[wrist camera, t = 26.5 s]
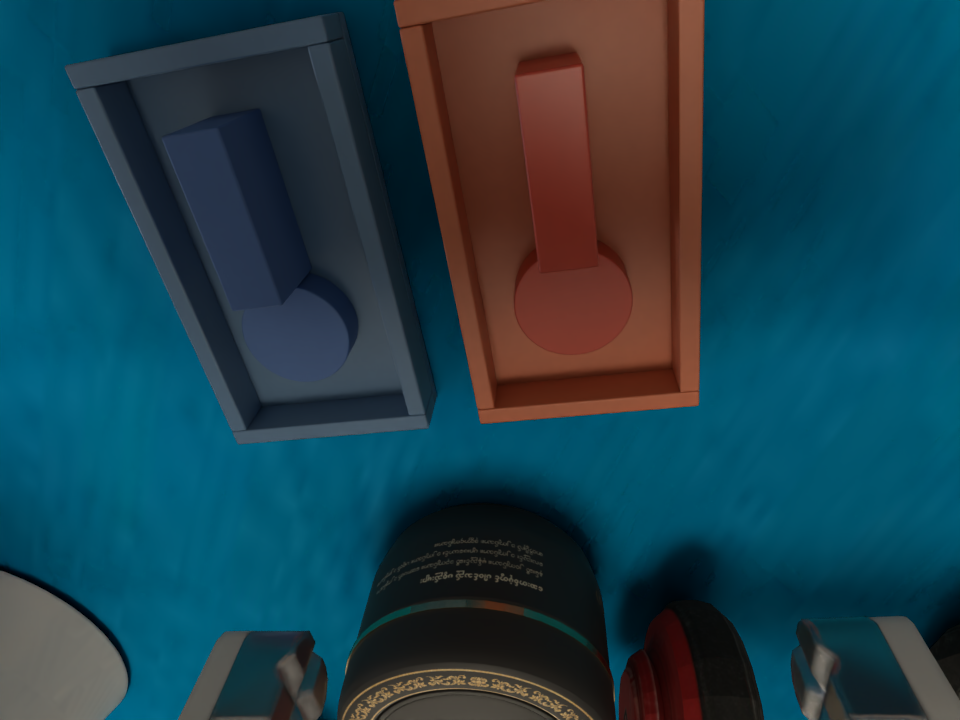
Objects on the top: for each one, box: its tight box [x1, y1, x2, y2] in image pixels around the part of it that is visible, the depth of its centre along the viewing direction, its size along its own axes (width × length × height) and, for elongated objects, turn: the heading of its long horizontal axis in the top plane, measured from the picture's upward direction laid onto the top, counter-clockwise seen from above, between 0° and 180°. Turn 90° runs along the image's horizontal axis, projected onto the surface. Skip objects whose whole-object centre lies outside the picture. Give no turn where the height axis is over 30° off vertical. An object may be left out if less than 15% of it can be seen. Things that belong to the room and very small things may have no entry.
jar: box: [337, 503, 616, 720], centre depth 25 cm, size 10×10×8 cm
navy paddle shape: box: [162, 109, 358, 382], centre depth 19 cm, size 9×4×3 cm, turn 10°
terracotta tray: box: [394, 0, 704, 424], centre depth 18 cm, size 13×7×2 cm, turn 10°
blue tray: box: [65, 12, 437, 444], centre depth 20 cm, size 13×7×2 cm, turn 10°
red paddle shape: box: [514, 52, 633, 355], centre depth 17 cm, size 9×4×3 cm, turn 10°
